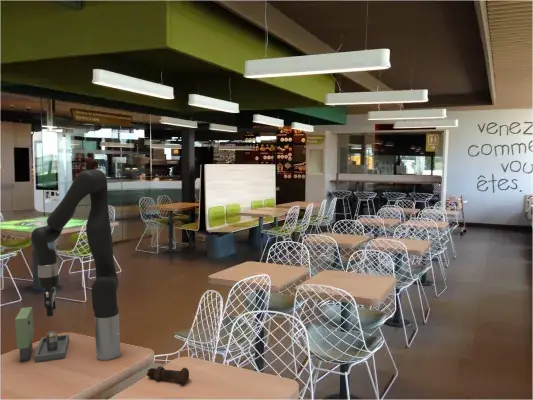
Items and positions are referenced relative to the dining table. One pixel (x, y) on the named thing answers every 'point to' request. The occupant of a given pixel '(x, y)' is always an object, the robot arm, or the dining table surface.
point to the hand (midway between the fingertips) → (51, 312)
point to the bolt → (169, 374)
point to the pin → (52, 341)
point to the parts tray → (46, 355)
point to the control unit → (24, 333)
